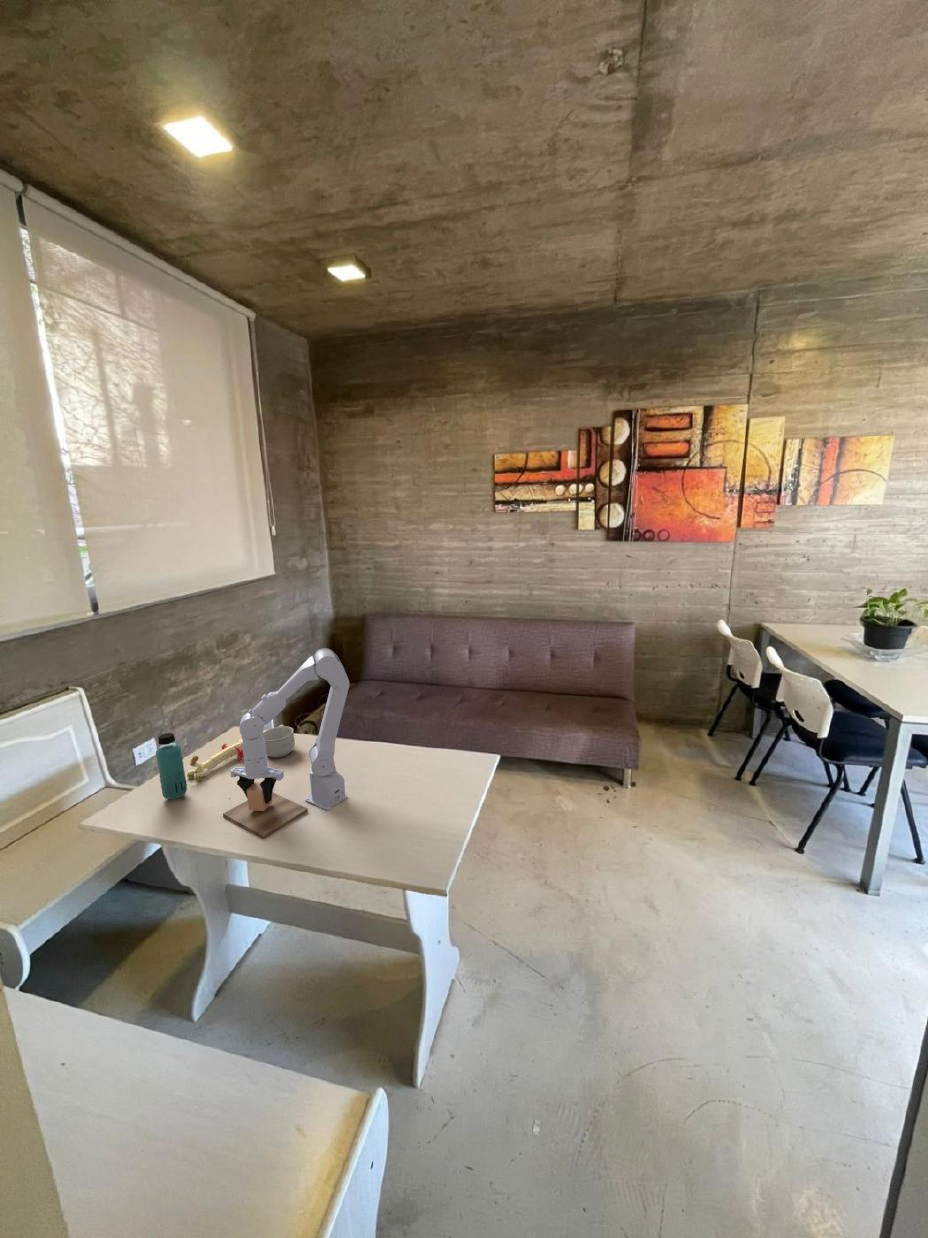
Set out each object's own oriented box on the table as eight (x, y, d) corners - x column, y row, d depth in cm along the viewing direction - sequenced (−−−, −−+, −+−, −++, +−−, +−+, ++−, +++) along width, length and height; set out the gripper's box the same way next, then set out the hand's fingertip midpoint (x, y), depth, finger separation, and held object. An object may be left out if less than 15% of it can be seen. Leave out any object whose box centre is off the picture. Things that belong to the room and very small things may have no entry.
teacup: (288, 761, 165) (286, 739, 163) (257, 761, 165) (254, 739, 163) (303, 742, 178) (301, 722, 177) (273, 742, 179) (271, 722, 177)
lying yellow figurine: (205, 787, 152) (267, 747, 174) (200, 763, 149) (263, 725, 171) (184, 780, 156) (247, 742, 178) (178, 756, 154) (242, 720, 175)
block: (272, 801, 138) (270, 782, 137) (263, 811, 134) (261, 791, 132) (257, 800, 139) (255, 781, 138) (248, 810, 134) (246, 790, 133)
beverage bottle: (176, 805, 140) (167, 740, 136) (157, 802, 142) (147, 738, 137) (193, 792, 146) (184, 730, 142) (174, 790, 148) (165, 729, 144)
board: (307, 811, 136) (307, 808, 136) (263, 839, 125) (263, 835, 125) (267, 792, 146) (267, 789, 146) (223, 817, 134) (222, 813, 134)
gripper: (287, 750, 136) (291, 794, 139) (239, 747, 138) (244, 791, 141) (274, 763, 129) (278, 809, 132) (223, 759, 131) (229, 805, 134)
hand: (260, 801), depth 136 cm, fingers closed on block, 4 cm apart
